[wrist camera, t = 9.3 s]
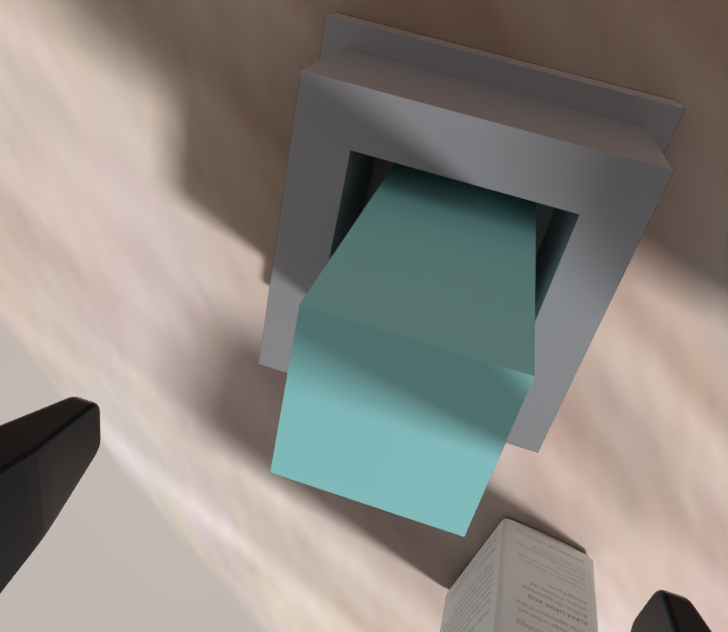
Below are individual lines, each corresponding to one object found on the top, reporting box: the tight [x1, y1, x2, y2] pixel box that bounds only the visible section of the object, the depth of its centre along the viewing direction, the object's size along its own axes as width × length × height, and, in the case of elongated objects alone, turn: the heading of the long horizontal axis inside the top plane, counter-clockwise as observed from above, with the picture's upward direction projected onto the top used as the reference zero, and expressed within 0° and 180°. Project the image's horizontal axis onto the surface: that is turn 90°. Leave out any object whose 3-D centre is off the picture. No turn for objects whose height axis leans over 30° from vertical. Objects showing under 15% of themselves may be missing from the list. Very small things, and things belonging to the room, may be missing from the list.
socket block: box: [259, 12, 685, 453], centre depth 19 cm, size 10×10×5 cm
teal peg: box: [270, 163, 536, 537], centre depth 16 cm, size 4×4×10 cm
